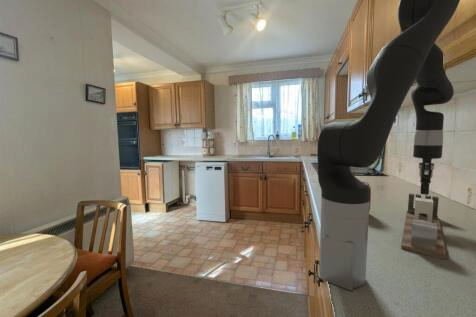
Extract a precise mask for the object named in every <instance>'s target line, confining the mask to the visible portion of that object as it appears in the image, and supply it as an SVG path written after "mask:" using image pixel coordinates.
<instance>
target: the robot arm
mask: <svg viewBox="0 0 476 317" xmlns="http://www.w3.org/2000/svg"><path fill="white" fill-rule="evenodd" d="M460 1H461V0H399V3H398V8H397V21H398V25H399V28H400V30H401V33H399V34H397V35H396V36H395V37H393V38H392V39H391V40H390V41H388V42H387V43H386V44H385V45H383V47H382V48H381V50H380V51H379V52H378V53H377V56H376V57H375V59H374V60H373V61H372V64H371V65H370V67H369V69H368V71H367V74H366V80H365V81H366V86H367V90H368V91H367V92H368V95H369V96H370V102H369V104H368V107H366V108H367V109H366V110H365V112H364V113H363V114H362V116H361V117H360V118H359V119H357V120H346V121H334V122H329V123H327V124H326V125H324V126H323V128H322V129H321V131H320V133H319V136H318V139H317V140H318V141H317V147H316V148H317V151H316V152H317V153H316V154H317V179H318V184H319V186H320V190H321V203H320V207H321V208H320V234H319V236H320V237H319V262H318V263H319V264H318V265H319V268H318V269H319V274H320V279H321V280H323V281H325V282H328V283H329V284H333V285H336V286H338V287H341V288H343V289H345V290H348V291H353V290H354V289H355V288H356V289H357V288H359V287H362V286H363V285H365V283H366V280H367V279H366V278H367V259H368V258H367V257H368V256H367V255H368V240H369V239H368V237H369V215H370V212H369V202H370V203H371V201H370V189H369V187H368V186H367V185H366V184H364V183H363V182H364V181H361V180H360V179H359V178H357V177H356V176H355V175H354V174H353V173H352V170H351V168H357V169H359V168H369V167H371V166H372V165H373V164H375V163H376V161H377V160H378V159H379V158H380V156H381V154H382V152H383V150H384V147H385V146H386V143H387V141H388V138H389V136H390V133H391V130H392V128H393V125H394V122H395V120H396V117H397V116H398V113H399V111H400V109H401V107H402V105H403V103H404V101H405V99H406V98H407V95H408V93H409V91H410V89H411V88H412V86H413V85H414V83H415V82H416V84H417V85H416V86H415V87H413V89H412V91H411V101H412V104H413V107H414V112H415V119H416V121H415V123H416V124H415V133H414V138H413V151H412V152H413V154H412V156H413V158H417V159H422V160H421V161H422V162H419V163H418V169H419V172H418V173H419V177H420V178H419V179H420V181H419V182H420V190H419V191H420V195H427V196H429V194H430V184H431V183H432V180H431V179H432V178H433V174H434V170H435V164H434V162H432V160H438V159H441V158H442V157H443V149H444V148H443V145H444V119H445V116H444V113H443V112H440V111H430V110H427V109H426V108H425V106H431V105H432V106H435V105H444V104H447V103H448V102H450V101H451V100H452V99H453V96H454V94H455V91H454V86H453V83H452V82H451V80H450V79H449V78H448V75H447V73H446V69H445V70H444V68H443V54H444V52H443V50H442V49H441V47H440V46H438V45H437V44H436V41H437V39H439V36H441V33H442V32H443V31H444V30H445V28H446V27H447V25H448V23H450V20H452V17H454V15H455V12H456V10H457V9H458V6H459V4H460Z"/></svg>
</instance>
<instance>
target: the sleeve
mask: <svg viewBox="0 0 476 317" xmlns="http://www.w3.org/2000/svg"><path fill="white" fill-rule="evenodd" d="M414 208H415V212H414V220H419V221H420V220H421V218H420V216H419V213H422V214H427V217H426V221H427V222H430V223H432V215H433V200H432V198H431V199H425V197H424V198H422V197H421V198H415V197H414Z"/></svg>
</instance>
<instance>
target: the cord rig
mask: <svg viewBox="0 0 476 317" xmlns="http://www.w3.org/2000/svg"><path fill="white" fill-rule="evenodd" d="M424 195H425V194H424ZM415 198H422V194H418V193H417V194H414V193H410V192H409V193H408V201H407V202H408V203H407V210H406V214H405V221H404V227H403V233H402V239H401V245H400V248H401V249H402V250H406V251H411V252H415V253H419V254H421V255H427V256H430V257H435V258H439V259H443V260H447V251H446V247H445V242H444V238H443V233H442V228H441V223H440V220H439V215H438V213H439V212H438V210H439V199H440V198H439V196H435V195H425V196H424V199H432V200H433V215H432V223H430V222H427V221H426V217H427V214H422V213H419V216H420V218H421V220H420V221H419V220H414V212H415Z"/></svg>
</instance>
